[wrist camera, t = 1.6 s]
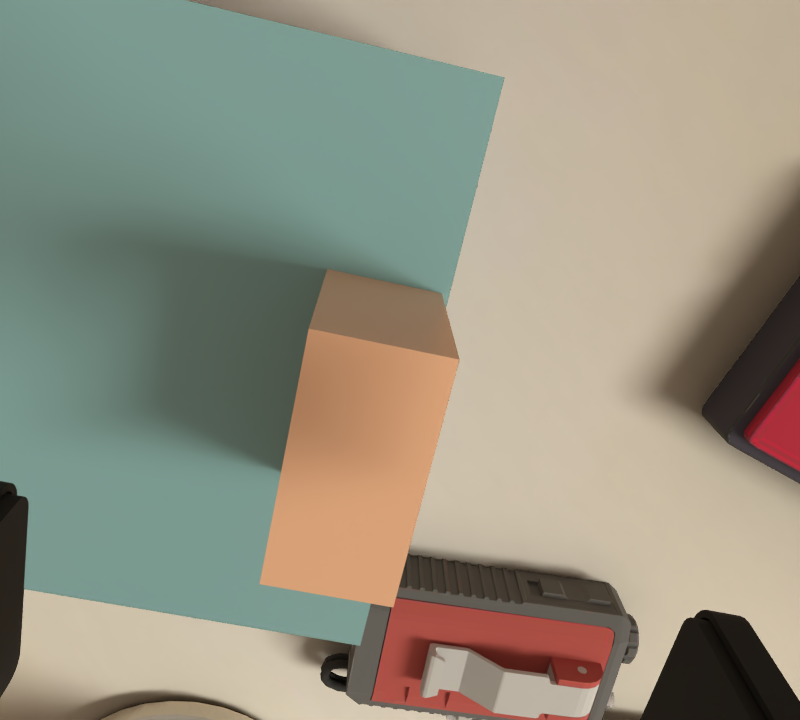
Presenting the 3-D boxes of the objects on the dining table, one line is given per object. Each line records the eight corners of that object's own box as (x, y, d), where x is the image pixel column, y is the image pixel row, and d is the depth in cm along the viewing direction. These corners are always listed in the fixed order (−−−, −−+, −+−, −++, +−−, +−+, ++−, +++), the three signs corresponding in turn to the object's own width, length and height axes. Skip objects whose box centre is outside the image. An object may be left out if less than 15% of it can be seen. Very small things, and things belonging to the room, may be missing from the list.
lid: (361, 624, 24) (353, 786, 19) (-317, 507, 23) (-551, 650, 17) (498, 77, 19) (546, 75, 13) (-385, -137, 17) (-766, -245, 11)
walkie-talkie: (315, 692, 36) (715, 744, 38) (306, 770, 32) (755, 825, 34) (343, 535, 33) (775, 598, 35) (337, 599, 29) (828, 668, 31)
